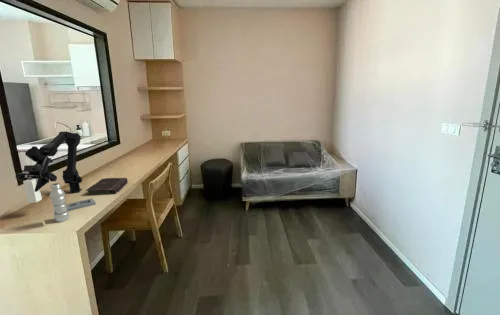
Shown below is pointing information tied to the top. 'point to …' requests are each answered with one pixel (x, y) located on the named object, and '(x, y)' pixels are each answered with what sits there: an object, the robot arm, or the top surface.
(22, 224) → the top surface
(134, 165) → the top surface
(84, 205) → the power strip
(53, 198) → the plastic bottle
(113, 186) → the diary
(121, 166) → the top surface
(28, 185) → the charger
